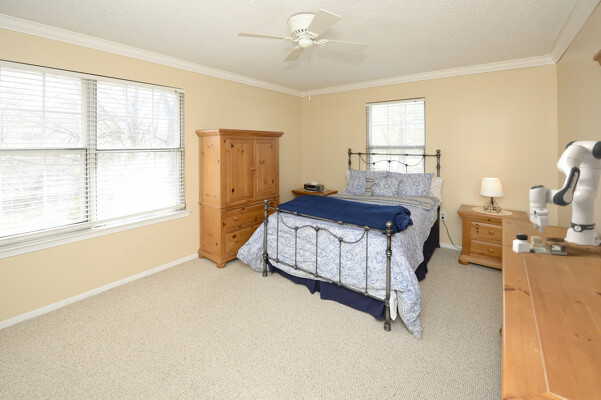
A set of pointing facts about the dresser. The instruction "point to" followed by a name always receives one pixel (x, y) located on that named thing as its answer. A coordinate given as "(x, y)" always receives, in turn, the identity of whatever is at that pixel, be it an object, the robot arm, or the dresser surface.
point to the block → (536, 241)
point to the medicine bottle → (521, 243)
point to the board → (542, 250)
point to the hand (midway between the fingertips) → (538, 230)
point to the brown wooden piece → (556, 241)
